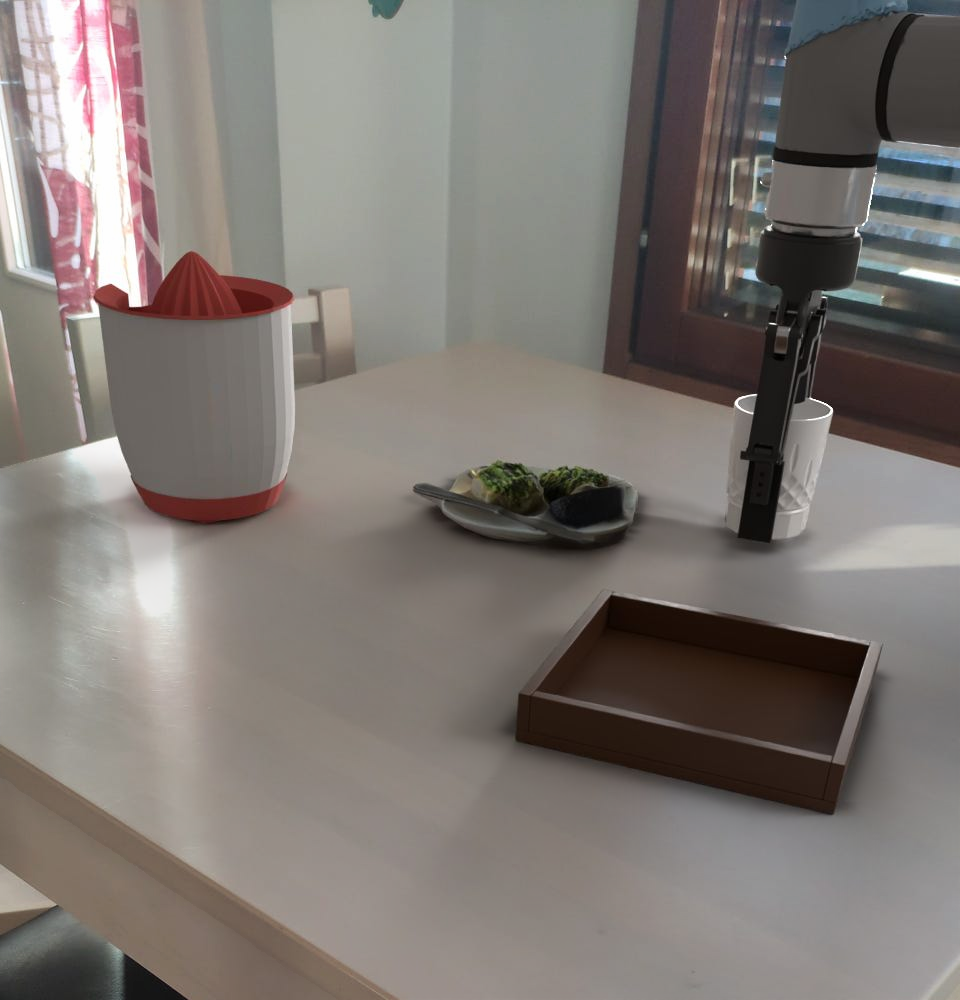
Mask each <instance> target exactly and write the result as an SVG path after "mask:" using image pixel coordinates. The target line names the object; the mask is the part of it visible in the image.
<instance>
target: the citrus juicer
mask: <svg viewBox="0 0 960 1000" xmlns="http://www.w3.org/2000/svg"><path fill="white" fill-rule="evenodd" d="M93 299H94V301H95V302H96V303H97V306H98V313H99V323H100V330H101V339H102V346H103V354H104V363H105V371H106V379H107V386H108V396H109V403H110V409H111V416H112V421H113V426H114V431H115V434H116V437H117V441H118V444H119V448H120V451H121V454H122V456H123V459H124V461H125V463H126V466H127V468H128V471H129V473H130V479H131V481H132V483H133V485H134V487H135V489H136V491H137V493H138V495H139V496H140V498H141V500H142V502H143V504H144V505H145V506H146V507H147V508H148V509H149V510H152V511H153V512H155V513H158V514H161V515H164V516H165V517H166V516H167V517H171V518H174V519H181V520H190V521H194V522H196V523H198V524H204V525H205V524H207V525H208V524H214V523H217V522H218V521H225V520H227V521H228V520H234V519H240V518H245V517H251V516H254V515H257V514H260V513H262V512H266V511H267V510H269V509H270V508H272V507H274V505H276V504H277V503H278V501H279V498H280V496H281V493H282V491H283V488H284V485H285V482H286V480H287V477H288V467H289V464H290V460H291V456H292V451H293V450H292V449H293V441H294V435H295V427H296V425H295V423H296V421H295V420H296V419H295V418H296V410H295V409H296V400H295V397H296V395H295V375H294V373H295V372H294V354H293V353H294V349H293V347H294V346H293V326H292V304H293V302H294V301H295V296H294V294H293V292H292V291H291V290H290V289H289V288H287V287H284V286H282V285H281V284H277V283H274V282H270V281H266V280H262V279H258V278H250V277H243V276H236V275H235V276H234V275H224V274H219V273H218V271H217V270H216V269H215V268H214V267H213V266H212V265H211V264H210V263H209V262H208V261H207V260H206V259H205V258H204V257H203V256H201V254H199V253H198V252H196V251H193V250H190V251H187V252H186V253H185V254H183V256H182V257H181V258H180V259H179V260H178V261H177V262H176V263H175V264H174V265H173V266H172V268H171V269H170V271H169V272H168V273H167V275H166V276H165V278H164V279H163V280H162V282H161V284H160V285H159V287H158V289H157V291H156V293H155V295H154V298H153V300H152V302H151V304H148V305H143V306H130V299H129V293H128V292H126V291H124V290H123V289H121V288H119V287H118V286H116V285H114V284H112V283H108V284H105V285H102V286H100V287H99V288H97V289H96V290H95V292H94V295H93Z"/></svg>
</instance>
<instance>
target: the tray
mask: <svg viewBox="0 0 960 1000" xmlns="http://www.w3.org/2000/svg"><path fill="white" fill-rule="evenodd" d="M883 645H884V644H883V643H881V642H877V641H870V640H866V639H862V638H861V639H860V638H856V637H852V636H845V635H840V634H835V633H830V632H825V631H821V630H815V629H809V628H803V627H799V626H794V625H789V624H784V623H783V624H782V623H779V622H774V621H768V620H764V619H759V618H754V617H753V618H752V617H748V616H742V615H738V614H733V613H727V612H723V611H717V610H712V609H708V608H707V609H706V608H703V607H696V606H691V605H686V604H682V603H676V602H672V601H671V602H670V601H666V600H660V599H656V598H650V597H646V596H640V595H635V594H629V593H625V592H619V591H614V590H611V589H610V590H609V589H605V588H603V589H602V590H601V591H600V593H599V594H597V596H596V597H595V598H594V600H593V601H592V602H591V603H590V605H589V606H588V607H587V608H586V610H585V611H584V612H583V613H582V615H581V616H580V617H579V618H578V619H577V621H576V622H575V623H574V624H573V625H572V627H571V628H570V629H569V630H568V631H567V633H566V634H564V637H563V638H562V639H561V640H560V641H559V643H558V644H557V645H556V646H555V648H553V650H552V651H551V652H550V654H549V655H548V656H547V657H546V658H545V660H544V661H543V662H542V663H541V665H540V666H539V667H538V669H537V670H536V671H535V672H534V674H533V675H532V676H531V677H530V678H529V679H528V681H527V682H526V683H525V684H524V686H523V687H522V688H521V689H520V691H519V692H518V694H517V695H518V696H517V709H516V724H515V735H514V736H515V737H514V741H517V742H520V743H526V744H530V745H534V746H538V747H542V748H547V749H552V750H555V751H559V752H564V753H568V754H571V755H572V754H573V755H577V756H581V757H585V758H590V759H594V760H597V761H603V762H607V763H609V764H610V763H611V764H615V765H619V766H623V767H629V768H633V769H636V770H640V771H644V772H645V771H646V772H649V773H654V774H658V775H662V776H666V777H669V778H670V777H671V778H675V779H680V780H682V781H687V782H691V783H697V784H701V785H705V786H710V787H713V788H717V789H721V790H725V791H729V792H730V791H731V792H735V793H739V794H744V795H746V796H747V795H748V796H751V797H755V798H760V799H764V800H769V801H773V802H778V803H782V804H786V805H790V806H793V807H799V808H803V809H807V810H812V811H815V812H819V813H824V814H828V815H834V814H835V813H836V809H837V805H838V802H839V798H840V796H841V792H842V789H843V786H844V783H845V780H846V779H845V778H846V776H847V772H848V769H849V765H850V763H851V758H852V755H853V752H854V748H855V746H856V742H857V739H858V736H859V732H860V729H861V726H862V724H863V723H862V722H863V719H864V717H865V713H866V710H867V707H868V703H869V699H870V696H871V692H872V689H873V687H874V682H875V677H876V673H877V670H878V666H879V663H880V657H881V653H882V651H883Z"/></svg>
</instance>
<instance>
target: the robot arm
mask: <svg viewBox="0 0 960 1000" xmlns="http://www.w3.org/2000/svg"><path fill="white" fill-rule="evenodd" d="M908 9H909V5H908V0H796V1H795V6H794V12H793V17H792V21H791V26H790V31H789V38H788V41H787V46H786V48H785V49H784V55H783V57H784V59H785V63H784V70H783V71H784V72H783V79H782V87H781V95H780V102H779V109H778V118H777V124H776V125H777V126H776V132H775V139H774V140H775V141H774V146H773V150H772V161H771V166H770V171H771V172H769V171H767V172H764V173H763V174H762V176H761V178H760V184H761V186H762V187H765V188H769V192H767V194H766V200H765V209H764V213H763V214H764V217H765V218H766V219H767V221H769V222H771V224H770V225H767V226H765V227H764V228H763V230H761V232H760V238H759V244H758V251H757V257H756V264H755V270H754V271H755V272H754V274H755V277H756V279H757V281H759V282H760V283H762V284H764V285H766V286H770V287H777V288H779V289H780V290H781V297H780V298H779V304H776V305H775V308H774V309H773V310H772V309H771V310H770V312H769V315H768V320H767V324H766V328H765V331H764V335H765V340H764V349H763V356H762V363H761V368H760V374H759V380H758V386H757V392H756V394H757V396H756V402H755V408H754V414H753V419H752V425H751V431H750V437H749V442H748V447H747V448H746V451H741V453H740V459H741V460H748V461H749V466H748V472H747V479H746V485H745V492H744V498H743V505H742V512H741V518H740V525H739V531H738V533H737V539H740V540H741V539H742V540H748V541H755V542H759V543H766V544H771V542H772V541H773V540H772V535H773V529H774V523H775V517H776V512H777V506H778V500H779V494H780V488H781V482H782V476H783V470H784V464H785V461H783V459H784V449H785V444H786V439H787V435H788V430H789V423H790V420H791V416H792V412H793V407H794V404H799V403H802V402H804V401H805V398H810V399H812V393H813V388H814V380H815V374H816V368H817V361H818V356H819V353H820V348H821V342H822V334H823V331H824V329H825V326H826V324H827V319H828V305H829V302H828V296H827V297H826V296H823V292H838V291H843V290H846V289H848V288H850V287H851V286H853V284H854V283H855V281H856V277H857V271H858V266H859V261H860V255H861V250H862V244H863V240H864V239H863V237H861V233H859V232H858V228H861V227H862V226H864V225H865V224H867V222H868V216H869V211H870V205H871V200H872V195H873V189H874V184H875V180H876V174H877V167H878V165H877V163H878V158H879V153H880V152H879V151H880V147H881V143H882V141H884V142H888V143H895V144H896V143H907V144H915V145H924V146H932V147H940V148H949V149H960V16H947V15H946V16H941V15H940V16H938V15H937V16H935V15H934V16H933V15H932V16H931V15H925V14H917V13H914V12H908ZM760 443H762V444H769V445H772V446H769V445H762V444H760Z"/></svg>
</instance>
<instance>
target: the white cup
mask: <svg viewBox="0 0 960 1000" xmlns="http://www.w3.org/2000/svg"><path fill="white" fill-rule="evenodd" d="M756 396H757V393H755V394H749V395H745V396H741V397H738V398H737V399H736V400H735V401H734V403H733V412H732V421H731V422H732V423H731V432H730V442H729V451H728V467H727V478H726V494H727V495H726V502H725V512H724V522H725V526H726V528H728V529H729V530H731V531H733V532H734V533H735V534H738V531H739V525H740V518H741V512H742V505H743V498H744V492H745V485H746V479H747V472H748V466H749V461H748V460H741V459H740V453H741V451H746V448H747V447H748V442H749V437H750V431H751V425H752V419H753V414H754V408H755V402H756ZM833 415H834V410H833V408H832V407H831V406H830V405H828V404H827V403H824V402H822V401H820V400H816V399H813V398H811V399H810V398H805V401H804V402H802V403H799V404H794V407H793V412H792V416H791V420H790V423H789V430H788V435H787V439H786V444H785V449H784V459H783V461H785V464H784V470H783V476H782V482H781V488H780V494H779V500H778V506H777V512H776V517H775V523H774V529H773V535H772V540H771V541H773V540H789V539H793V538H796V537H799V536H800V535H801V534H802V533H803V532H805V530H806V526H807V522H808V518H809V512H810V508H811V502H812V501H813V498H814V494H815V491H816V488H817V487H816V486H817V481H818V478H819V475H820V472H821V467H822V464H823V459H824V454H825V450H826V445H827V441H828V437H829V432H830V428H831V424H832V419H833ZM760 444H762V443H760ZM762 445H769V444H762ZM769 446H772V445H769Z"/></svg>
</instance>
